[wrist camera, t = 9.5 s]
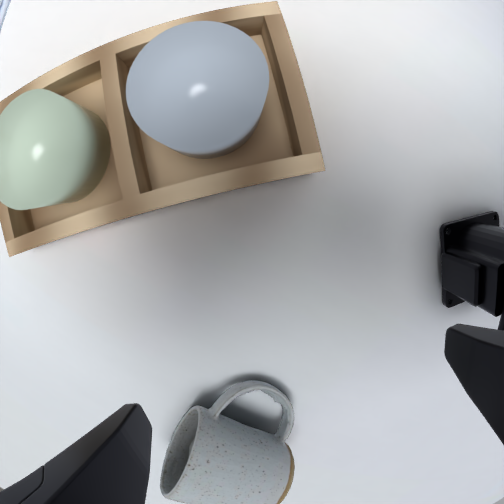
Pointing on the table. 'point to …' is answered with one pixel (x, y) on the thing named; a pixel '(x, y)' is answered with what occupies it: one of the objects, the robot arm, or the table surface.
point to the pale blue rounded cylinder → (199, 88)
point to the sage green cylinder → (50, 151)
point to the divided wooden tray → (159, 155)
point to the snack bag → (3, 10)
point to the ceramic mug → (229, 455)
